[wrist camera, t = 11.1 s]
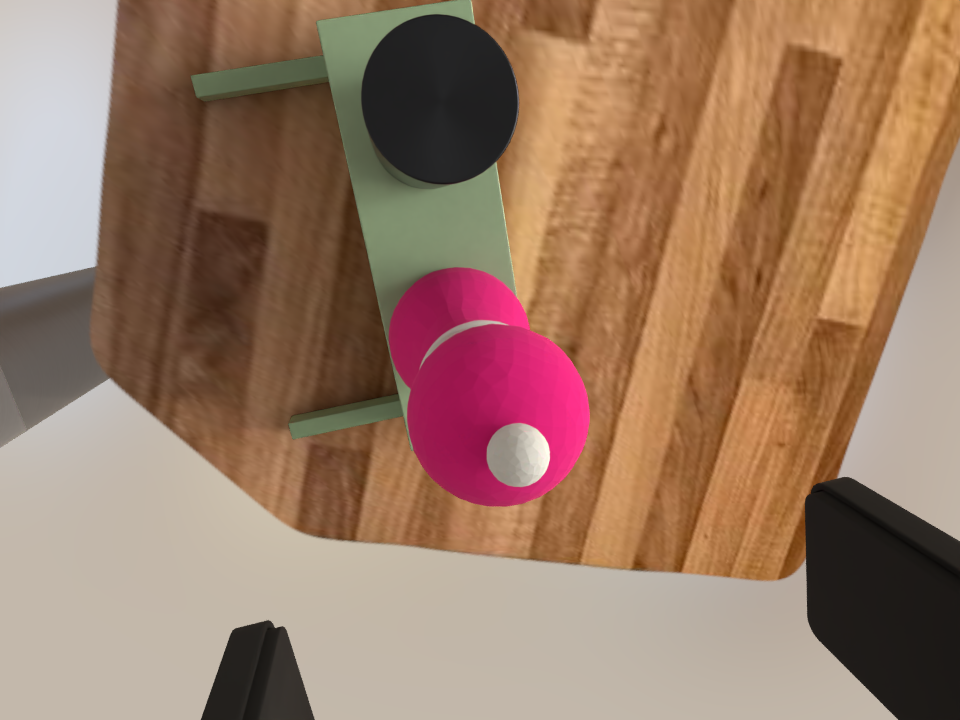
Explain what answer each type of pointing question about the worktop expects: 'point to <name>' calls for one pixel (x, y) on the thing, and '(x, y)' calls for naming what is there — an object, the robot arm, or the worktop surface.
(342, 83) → the riser
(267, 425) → the worktop surface
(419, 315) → the pepper mill
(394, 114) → the spice tin
